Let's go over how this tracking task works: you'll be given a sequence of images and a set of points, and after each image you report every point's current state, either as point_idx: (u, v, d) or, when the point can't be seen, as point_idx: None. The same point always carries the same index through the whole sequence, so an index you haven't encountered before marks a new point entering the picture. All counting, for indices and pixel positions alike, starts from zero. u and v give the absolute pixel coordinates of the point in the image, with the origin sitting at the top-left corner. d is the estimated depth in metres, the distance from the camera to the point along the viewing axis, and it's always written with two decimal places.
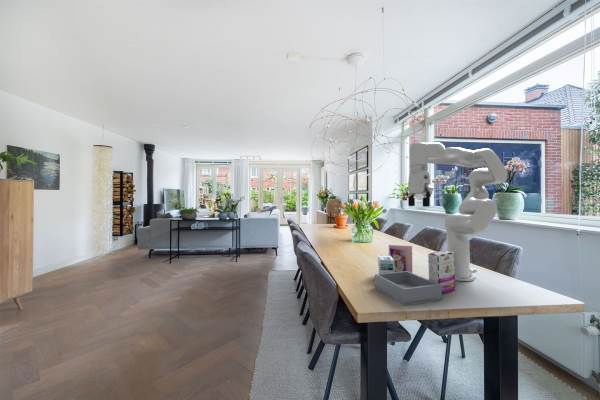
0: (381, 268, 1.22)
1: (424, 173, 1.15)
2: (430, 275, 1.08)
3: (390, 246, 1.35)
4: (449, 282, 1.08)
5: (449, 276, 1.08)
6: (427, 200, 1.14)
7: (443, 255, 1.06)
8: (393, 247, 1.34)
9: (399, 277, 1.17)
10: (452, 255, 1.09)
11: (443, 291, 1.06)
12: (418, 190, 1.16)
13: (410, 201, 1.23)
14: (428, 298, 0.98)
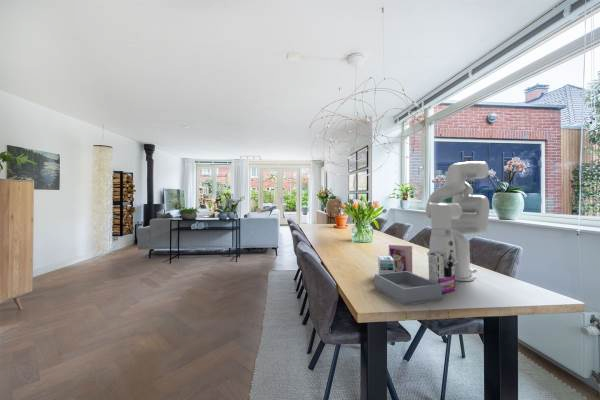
0: (381, 268, 1.22)
1: (449, 239, 1.05)
2: (430, 275, 1.08)
3: (390, 246, 1.35)
4: (449, 282, 1.08)
5: None
6: (449, 270, 1.05)
7: None
8: (393, 247, 1.34)
9: (399, 277, 1.17)
10: None
11: (443, 291, 1.06)
12: None
13: None
14: (428, 298, 0.98)
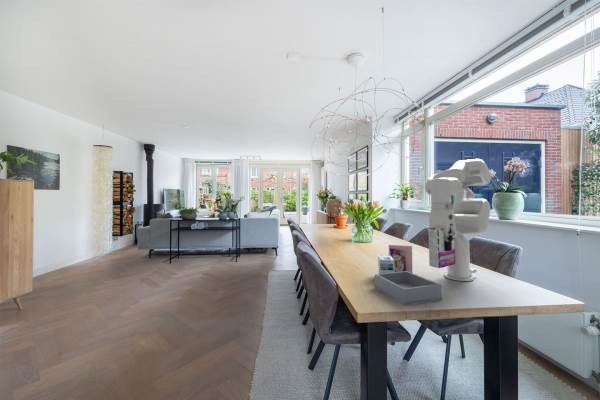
0: (381, 268, 1.22)
1: (449, 213, 1.05)
2: (430, 249, 1.08)
3: (390, 246, 1.35)
4: (449, 256, 1.08)
5: None
6: (449, 244, 1.06)
7: None
8: (393, 247, 1.34)
9: (399, 277, 1.17)
10: None
11: (443, 265, 1.06)
12: None
13: None
14: (428, 298, 0.98)
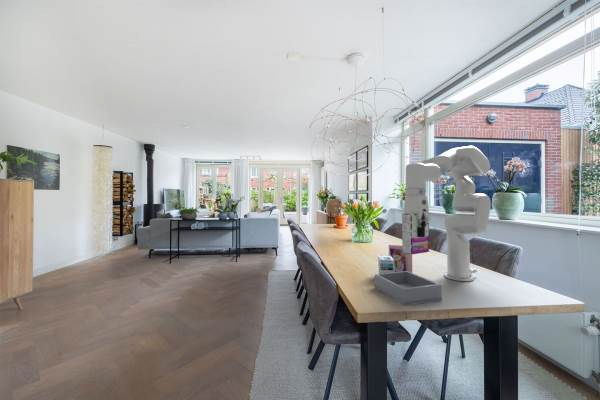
0: (381, 268, 1.22)
1: (422, 198, 1.03)
2: (403, 236, 1.06)
3: (390, 246, 1.35)
4: (423, 243, 1.06)
5: (423, 237, 1.06)
6: (422, 230, 1.03)
7: None
8: (393, 247, 1.34)
9: (399, 277, 1.17)
10: None
11: (416, 251, 1.04)
12: None
13: None
14: (428, 298, 0.98)
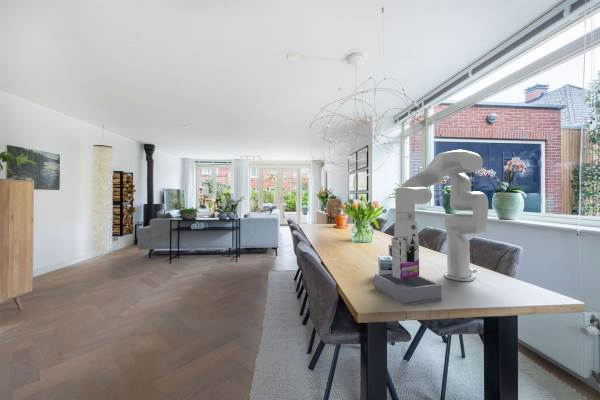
0: (381, 268, 1.22)
1: (411, 223, 1.02)
2: (393, 260, 1.05)
3: (390, 246, 1.35)
4: (412, 267, 1.05)
5: None
6: (412, 255, 1.03)
7: None
8: None
9: None
10: None
11: (405, 276, 1.03)
12: None
13: None
14: (428, 298, 0.98)
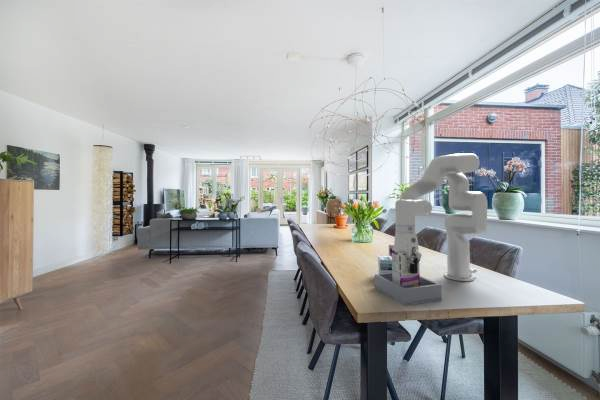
0: (381, 268, 1.22)
1: (411, 236, 1.02)
2: (393, 275, 1.06)
3: (390, 246, 1.35)
4: (413, 282, 1.06)
5: (413, 276, 1.06)
6: (415, 267, 1.01)
7: None
8: None
9: None
10: None
11: None
12: (405, 253, 1.04)
13: None
14: (428, 298, 0.98)
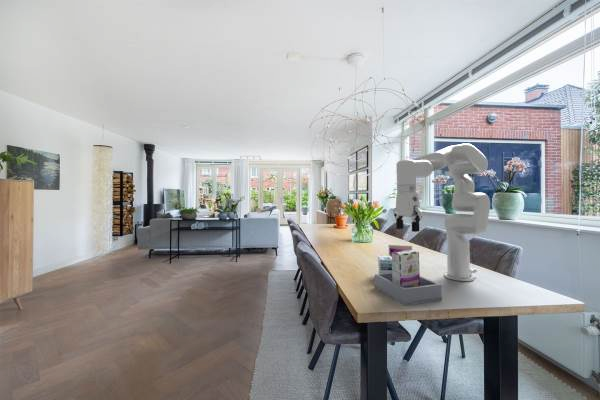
0: (381, 268, 1.22)
1: (413, 194, 1.04)
2: (393, 275, 1.06)
3: (390, 246, 1.35)
4: (413, 282, 1.06)
5: (413, 276, 1.06)
6: (416, 224, 1.03)
7: (406, 254, 1.04)
8: (393, 247, 1.34)
9: None
10: (416, 254, 1.07)
11: None
12: (406, 212, 1.05)
13: (398, 223, 1.12)
14: (428, 298, 0.98)
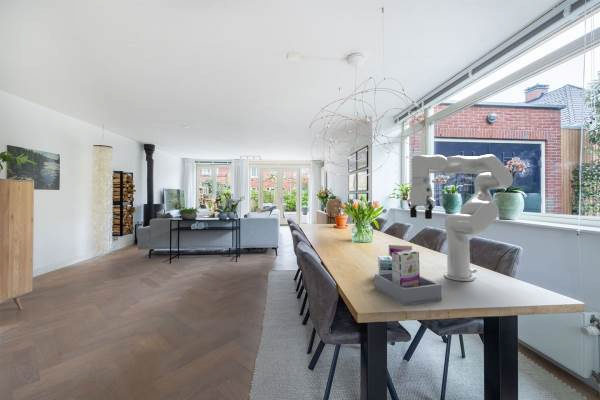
0: (381, 268, 1.22)
1: (426, 186, 1.16)
2: (393, 275, 1.06)
3: (390, 246, 1.35)
4: (413, 282, 1.06)
5: (413, 276, 1.06)
6: (429, 212, 1.15)
7: (406, 254, 1.04)
8: (393, 247, 1.34)
9: None
10: (416, 254, 1.07)
11: None
12: (420, 202, 1.18)
13: (412, 212, 1.25)
14: (428, 298, 0.98)
